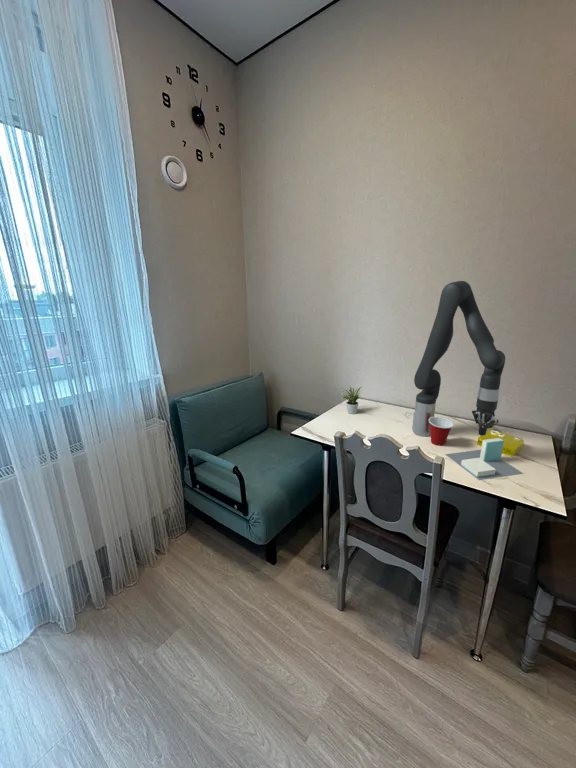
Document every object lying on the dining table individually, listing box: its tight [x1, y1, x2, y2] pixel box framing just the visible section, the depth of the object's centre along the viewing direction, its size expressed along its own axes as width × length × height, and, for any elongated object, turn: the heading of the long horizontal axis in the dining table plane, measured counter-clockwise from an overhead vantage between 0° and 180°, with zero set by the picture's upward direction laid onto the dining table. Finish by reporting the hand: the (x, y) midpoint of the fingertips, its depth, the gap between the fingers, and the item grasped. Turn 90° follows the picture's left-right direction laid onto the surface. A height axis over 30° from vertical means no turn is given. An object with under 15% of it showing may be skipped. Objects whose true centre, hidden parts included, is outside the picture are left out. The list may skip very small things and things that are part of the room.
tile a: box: [460, 458, 496, 479], centre depth 128 cm, size 2×8×9 cm
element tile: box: [476, 429, 525, 457], centre depth 147 cm, size 15×15×5 cm
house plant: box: [340, 386, 363, 415], centre depth 190 cm, size 14×14×16 cm
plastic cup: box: [429, 416, 455, 447], centre depth 149 cm, size 11×11×12 cm
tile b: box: [480, 438, 504, 462], centre depth 135 cm, size 2×8×9 cm, turn 101°
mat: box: [445, 449, 524, 481], centre depth 133 cm, size 20×20×1 cm
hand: (481, 434), depth 139 cm, fingers closed
